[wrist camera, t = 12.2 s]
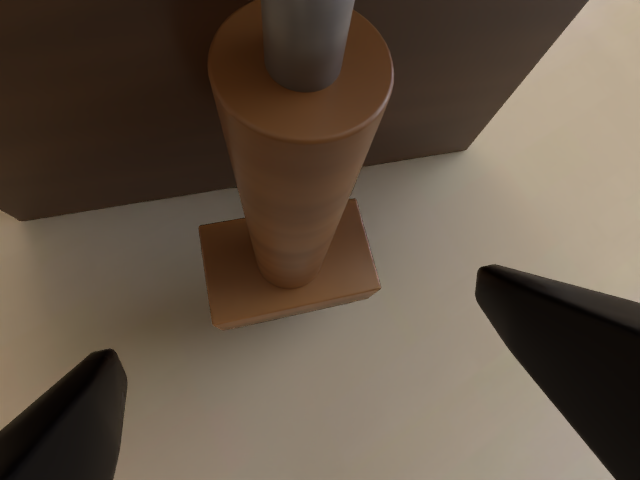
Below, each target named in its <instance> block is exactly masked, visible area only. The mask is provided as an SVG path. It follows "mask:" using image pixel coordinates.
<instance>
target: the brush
mask: <svg viewBox="0 0 640 480" xmlns="http://www.w3.org/2000/svg"><path fill="white" fill-rule="evenodd" d="M354 2H355V0H254V1H252V2H250V3H248V4H246V5H244V6H242V7H241V8H239V9H238V10H236V11H235V12H233V13H232V14H231V15H230V16H229V17H228V18H227V19H226V20H225V21H224V22H223V23H222V24H221V26H220V27H219V29H218V30H217V32H216V33H215V35H214V38H213V40H212V42H211V45H210V49H209V53H208V62H207V67H208V76H209V80H210V84H211V88H212V92H213V96H214V100H215V103H216V107H217V111H218V115H219V119H220V123H221V127H222V130H223V134H224V138H225V142H226V146H227V150H228V154H229V157H230V161H231V165H232V169H233V173H234V177H235V181H236V184H237V188H238V192H239V196H240V200H241V204H242V208H243V211H244V215H245V218H240V219H234V220H228V221H223V222H217V223H211V224H206V225H200V226H199V227H198V229H199V236H200V243H201V250H202V257H203V264H204V271H205V278H206V285H207V292H208V299H209V306H210V313H211V320H212V325H213V326H215V327H217V328H219V329H221V330H228V329H233V328H239V327H244V326H248V325H253V324H257V323H262V322H266V321H271V320H275V319H280V318H284V317H289V316H293V315H297V314H302V313H306V312H311V311H315V310H320V309H324V308H329V307H333V306H338V305H342V304H347V303H351V302H354V301H358V300H363V299H367V298H369V297H370V296H372V295H373V294H374V293H376V292H377V291H378V290H380V289H381V285H380V281H379V278H378V274H377V271H376V267H375V264H374V260H373V256H372V253H371V249H370V246H369V242H368V239H367V235H366V232H365V228H364V225H363V221H362V217H361V214H360V210H359V207H358V203H357V200H356V199H355V198H354V199H349V197H350V195H351V192H352V190H353V187H354V185H355V182H356V180H357V178H358V175H359V173H360V170H361V168H362V165H363V163H364V160H365V158H366V155H367V153H368V151H369V148H370V146H371V143H372V141H373V138H374V136H375V133H376V131H377V129H378V126H379V124H380V121H381V119H382V116H383V114H384V111H385V109H386V107H387V104H388V102H389V99H390V96H391V94H392V90H393V85H394V68H393V61H392V57H391V54H390V51H389V49H388V46H387V44H386V42H385V40H384V39H383V37H382V36H381V34H380V33H379V32H378V30H377V29H376V28H375V27H374V26H373V25H372V24H371V23H370V22H369V21H368V20H367V19H366V18H365V17H363V16H362V15H361V14H360V13H358V12H357V11H355V10H353V7H354Z"/></svg>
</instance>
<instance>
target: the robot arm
mask: <svg viewBox="0 0 640 480" xmlns="http://www.w3.org/2000/svg"><path fill="white" fill-rule="evenodd" d="M475 297H476V300H477V302H478V304H479V306H480V307H481V309H482V310H483V312H484V313H485V315H486V316H487V318H488V319H489V321H490V322H491V324H492V325H493V327H494V328H495V330H496V331H497V333H498V334H499V336H500V337H501V339H502V340H503V342H504V343H505V344H506V346H507V347H508V349H509V350H510V351H511V353H512V354H513V355H514V356H515V358H516V359H517V360H518V361H519V363H520V364H521V365H522V366H523V367H524V369H525V370H526V371H527V372H528V373H529V375H530V376H531V377H532V378H533V380H534V381H535V382H536V383H537V384H538V386H539V387H540V388H541V389H542V391H543V392H544V393H545V394H546V395H547V397H548V398H549V399H550V400H551V401H552V403H553V404H554V405H555V406H556V408H557V409H558V410H559V411H560V412H561V414H562V415H563V416H564V417H565V419H566V420H567V421H568V422H569V423H570V425H571V426H572V427H573V428H574V429H575V431H576V432H577V433H578V434H579V436H580V437H581V438H582V439H583V440H584V442H585V443H586V444H587V445H588V446H589V448H590V449H591V450H592V451H593V453H594V454H595V455H596V456H597V457H598V459H599V460H600V461H601V462H602V464H603V465H604V466H605V467H606V468H607V470H608V471H609V472H610V473H611V474H612V476H613V477H614V478H615V479H616V480H640V303H638V302H634V301H630V300H627V299H623V298H619V297H616V296H612V295H608V294H604V293H601V292H597V291H593V290H589V289H586V288H582V287H578V286H574V285H571V284H567V283H563V282H559V281H556V280H552V279H548V278H545V277H541V276H537V275H533V274H530V273H526V272H522V271H518V270H515V269H511V268H507V267H503V266H500V265H496V264H493V265H488V266H483V267H481V268H479V270H478V272H477V280H476V290H475ZM126 393H127V376H126V373H125V371H124V369H123V367H122V364H121V362H120V360H119V358H118V355H117V353H116V352H115V350H114V349H111V348H109V349H104V350H100V351H95V352H92V353H91V354H89V355H88V356H87V357H86V358H85V359H84V360H82V361H81V362H80V363H79V364H78V365H77V366H75V367H74V368H73V369H72V370H71V371H70V372H68V373H67V374H66V375H65V376H64V377H63V378H61V379H60V380H59V381H58V382H57V383H56V384H54V385H53V386H52V387H51V388H50V389H49V390H47V391H46V392H45V393H44V394H43V395H42V396H40V397H39V398H38V399H37V400H36V401H35V402H33V403H32V404H31V405H30V406H29V407H28V408H26V409H25V410H24V411H23V412H22V413H21V414H19V415H18V416H17V417H16V418H15V419H14V420H12V421H11V422H10V423H9V424H8V425H7V426H5V427H4V428H3V429H2V430H1V431H0V480H113V478H114V473H115V469H116V465H117V460H118V455H119V450H120V443H121V436H122V427H123V419H124V410H125V402H126Z"/></svg>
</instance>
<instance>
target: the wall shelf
mask: <svg viewBox="0 0 640 480" xmlns="http://www.w3.org/2000/svg"><path fill="white" fill-rule="evenodd" d="M252 1H254V0H0V210H2V211H3V212H5V213H7V214H9V215H10V216H12V217H14V218H16V219H17V220H19V221H27V220H33V219H39V218H45V217H52V216H58V215H64V214H70V213H76V212H83V211H89V210H95V209H101V208H108V207H114V206H120V205H126V204H132V203H139V202H145V201H151V200H157V199H164V198H170V197H176V196H182V195H188V194H195V193H201V192H207V191H213V190H220V189H226V188H232V187H237V184H236V181H235V177H234V173H233V169H232V165H231V161H230V157H229V154H228V150H227V146H226V142H225V138H224V134H223V130H222V127H221V123H220V119H219V115H218V111H217V107H216V103H215V100H214V96H213V92H212V88H211V84H210V80H209V76H208V67H207V62H208V53H209V49H210V45H211V42H212V40H213V38H214V35H215V33H216V32H217V30H218V29H219V27H220V26H221V24H222V23H223V22H224V21H225V20H226V19H227V18H228V17H229V16H230V15H231V14H232V13H233V12H235V11H236V10H238V9H239V8H241V7H242V6H244V5H246V4H248V3H250V2H252ZM588 1H589V0H355V2H354V7H353V10H355V11H357V12H358V13H360V14H361V15H362V16H363V17H365V18H366V19H367V20H368V21H369V22H370V23H371V24H372V25H373V26H374V27H375V28H376V29H377V30H378V32H379V33H380V34H381V36H382V37H383V39H384V40H385V42H386V44H387V46H388V49H389V51H390V54H391V57H392V61H393V68H394V85H393V90H392V94H391V96H390V99H389V102H388V104H387V107H386V109H385V111H384V114H383V116H382V119H381V121H380V124H379V126H378V129H377V131H376V133H375V136H374V138H373V141H372V143H371V146H370V148H369V151H368V153H367V155H366V158H365V160H364V163H363V165H362V167H363V166H369V165H375V164H381V163H388V162H394V161H400V160H406V159H413V158H419V157H425V156H431V155H437V154H444V153H450V152H456V151H462V150H466V149H467V148H468V147H469V146H470V145H471V143H472V142H473V141H474V140H475V138H476V137H477V136H478V135H479V134H480V132H481V131H482V130H483V129H484V128H485V126H486V125H487V124H488V123H489V121H490V120H491V119H492V118H493V117H494V115H495V114H496V113H497V112H498V110H499V109H500V108H501V107H502V106H503V104H504V103H505V102H506V101H507V99H508V98H509V97H510V96H511V95H512V93H513V92H514V91H515V90H516V88H517V87H518V86H519V85H520V84H521V82H522V81H523V80H524V79H525V77H526V76H527V75H528V74H529V73H530V71H531V70H532V69H533V68H534V67H535V65H536V64H537V63H538V62H539V60H540V59H541V58H542V57H543V56H544V54H545V53H546V52H547V51H548V49H549V48H550V47H551V46H552V45H553V43H554V42H555V41H556V40H557V38H558V37H559V36H560V35H561V34H562V32H563V31H564V30H565V29H566V27H567V26H568V25H569V24H570V23H571V21H572V20H573V19H574V18H575V17H576V15H577V14H578V13H579V12H580V10H581V9H582V8H583V7H584V6H585V4H586V3H587V2H588Z"/></svg>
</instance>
